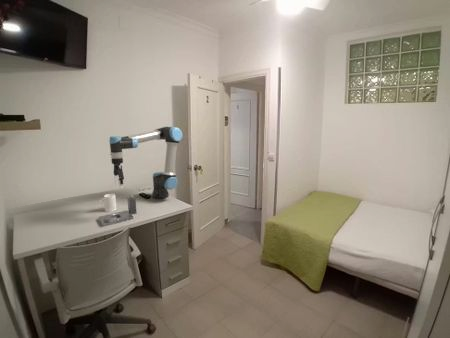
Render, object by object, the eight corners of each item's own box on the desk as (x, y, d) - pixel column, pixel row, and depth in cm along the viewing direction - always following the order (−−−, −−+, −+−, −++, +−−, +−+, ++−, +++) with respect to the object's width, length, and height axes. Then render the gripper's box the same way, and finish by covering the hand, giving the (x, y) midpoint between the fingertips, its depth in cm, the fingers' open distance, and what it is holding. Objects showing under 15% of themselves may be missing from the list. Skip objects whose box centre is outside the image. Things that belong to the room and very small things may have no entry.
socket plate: (127, 212, 177) (127, 209, 176) (133, 219, 166) (133, 215, 166) (98, 219, 164) (97, 216, 164) (102, 226, 154) (102, 223, 153)
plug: (134, 211, 179) (133, 194, 176) (136, 213, 176) (135, 196, 173) (128, 212, 177) (127, 195, 174) (130, 214, 173) (129, 197, 170)
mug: (101, 213, 174) (99, 198, 172) (99, 209, 181) (98, 195, 179) (117, 210, 181) (116, 195, 178) (115, 206, 188) (114, 192, 185)
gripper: (107, 155, 174) (110, 182, 178) (115, 161, 154) (118, 191, 159) (118, 155, 178) (120, 181, 183) (127, 159, 159) (129, 189, 164)
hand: (119, 186), depth 171 cm, fingers open, 13 cm apart
